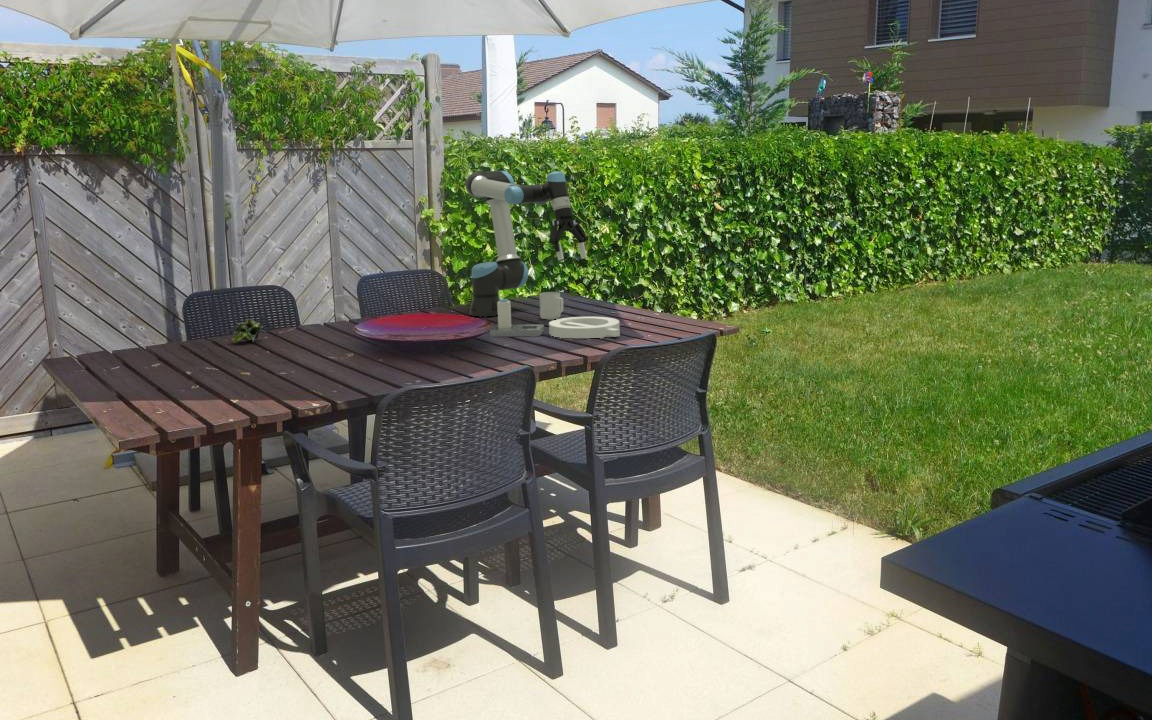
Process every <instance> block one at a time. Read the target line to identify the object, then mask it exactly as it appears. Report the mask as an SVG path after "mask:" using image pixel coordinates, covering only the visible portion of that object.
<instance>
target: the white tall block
mask: <svg viewBox="0 0 1152 720" xmlns="http://www.w3.org/2000/svg"><path fill="white" fill-rule="evenodd" d="M497 309H498V316H497V325H498V329H511V325H512V307H511V300H509V299H508V298H499V302H497Z"/></svg>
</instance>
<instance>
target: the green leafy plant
mask: <svg viewBox="0 0 1152 720" xmlns="http://www.w3.org/2000/svg"><path fill="white" fill-rule="evenodd" d="M237 325H238V327H235V328H234V329H235V330H234V331H233V336H234V337H233V339H232V343H233V342H236V343H237V342H239V341H241V340H243V339H245V338H246V340H247V339H248V340H249V341H250V340H251V339H252V341H251V343H252V342H253V343H254V341H255V340H258V339H259V334H260V333H261V334H265V333H266V330H264V324H263V323H262V324H261V322H258V321H255V320H254V319H251V318H249V319H247V320H243V322H240V323H239V322H238V323H237ZM257 338H258V339H257Z"/></svg>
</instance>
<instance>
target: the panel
mask: <svg viewBox="0 0 1152 720" xmlns="http://www.w3.org/2000/svg"><path fill="white" fill-rule="evenodd" d="M543 331H544V332H545V324H536V323H535V324H511V329H498V324H495V325H493V327H492V328H491V329H490V330H489V337H490V338H491V337H492V338H493V337H494V338H496V337H499V338H500V337H502V338H503V337H506V338H511V337H514V338H515V337H541V336H540V335H542V334H543V333H544V332H543ZM542 332H543V333H542Z"/></svg>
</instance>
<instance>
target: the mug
mask: <svg viewBox="0 0 1152 720" xmlns="http://www.w3.org/2000/svg"><path fill="white" fill-rule="evenodd" d="M538 295H539V316H540V318H541V319H542V320H543V319H548V320H547V321H553V320H554V319H556V320H557V319H560V318H561V313H563V312H564V298H563V297H561V294H560V292H557V291H547V292H540V293H539V294H538Z"/></svg>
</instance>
